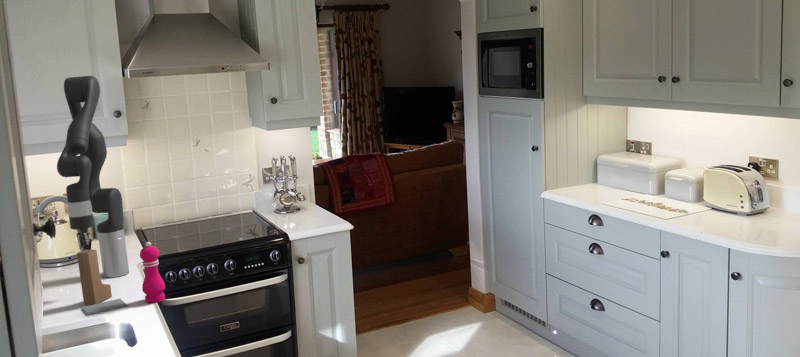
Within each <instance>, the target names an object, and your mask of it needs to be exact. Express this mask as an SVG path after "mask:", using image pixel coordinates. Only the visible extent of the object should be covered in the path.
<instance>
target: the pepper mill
mask: <svg viewBox="0 0 800 357" xmlns="http://www.w3.org/2000/svg"><path fill="white" fill-rule="evenodd" d="M139 257H140V259H141V260H142V267H144V271H145V274H144V275H145V276H144V279H143V282H142V288H141V289H142V290H141V291H142V293H144V294H145V296H144V301H146V302H145V303H147V302H148V303H147V304H150V303H149V302H153V303H152V304H156V303H161V302H163V301H165V299H166V295H165V294H166V293H165V292H164V291H165V289H166V284H165V281H164V280H163V277H162V276H161V274H160V272H159V269H158V266H159V264H160V263H159V259H158V258H159V257H160V251H159V249H158V248H157V247H156V246H154V245H152V242H150V241H146V242H145V246H144V247H143V248H142V249H140V252H139Z"/></svg>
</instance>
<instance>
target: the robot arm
mask: <svg viewBox="0 0 800 357" xmlns="http://www.w3.org/2000/svg"><path fill="white" fill-rule="evenodd" d="M63 90H64V95H65V99H66V103H67V106H68V108H69V109H68V110H69V113H70V116H71V122H70V124H69V125H68V128H67V132H66V140H65V145H64V147H63V149H62V152H61V153H60V155H59V158H58V159H57V163H56V170H57V172H58V174H59V175H60V177H63V178H72V177H76V178H77V177H79V179H78V181H76V182H74V183H70V184H68V185H66V189H65V191H66V198H67V212H68V219H69V220H68V221H69V228H70V229H71V230H76V231H77V233H75V237H76V239H77V243H78V247H79V251H80V252H81V251H83V250H92V241H93V240H92V235H91V232H89V228H93V227H95V221H94V213H95V214H108V215H107V219H106V220H104V221H101V222H99V223H98V224H97V225H96V230H97V231H96V232H97V239H98V247H99V253H100V260H101V268H102V273H103V274H102V275H103V277H104V278H118V277H122V276H125V275H128V274H129V273H130V266H129V260H128V259H129V258H128V254H127V253H128V252H127V245H126V244H127V243H126V235H125V228H124V218H125V217H124V207H123V196H122V193H121V191H120V190H119V188H116V187H108V188H102V187H101V184H100V183H101V182H100V174H101V171H102V169H103V167H104V164H105V161H106V159H107V154H108V150H107V145H106V140H105V136H104V135H103V133H102V131H101V130H100V129H99V128H98V127H97V126H96V125H95V123H93V118H94V116H95V113H96V109H97V107H98V103H99V98H100V94H101V88H100V83H99V81H98V79H97V78H96V77H95V76H94V75H83V76H73V77H67V78H65V79H64V82H63ZM82 103H83V106H82Z"/></svg>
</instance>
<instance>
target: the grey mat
mask: <svg viewBox="0 0 800 357" xmlns="http://www.w3.org/2000/svg"><path fill="white" fill-rule="evenodd" d="M126 307H128V305H127V303H126V302H125V301H123V300H122V299H121V298H116V299H112V300H106V301H103V302H101V303H99V304H94V305H85V306H82V308H81V309H82V311H84V313H85V314H86V315H87V316H92V315H96V314H100V313H104V312H108V311H113V310H116V309H121V308H126Z"/></svg>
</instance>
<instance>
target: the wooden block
mask: <svg viewBox="0 0 800 357" xmlns="http://www.w3.org/2000/svg"><path fill="white" fill-rule="evenodd" d="M76 257H77V263H78V265H77V266H78V270H79V279H80V286H81V293H82V300H83V306H90V305H94V304H99V303H103V302H105V301H107V300H108V299H110V298H112V297H113V296H112V287H111V284H109V283H107V284H106V283H103V282H102V279H101V273H100V267H99V266H100V265H99V257H98V250H97V249H91V250H83V251H81V250H80V251H79V252H77V253H76Z"/></svg>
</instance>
